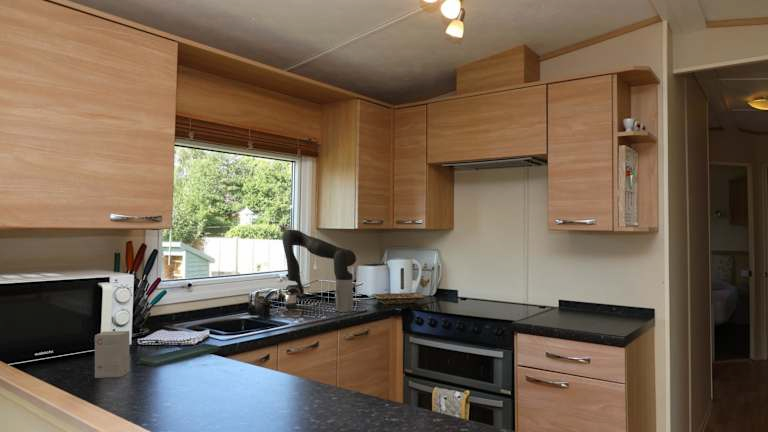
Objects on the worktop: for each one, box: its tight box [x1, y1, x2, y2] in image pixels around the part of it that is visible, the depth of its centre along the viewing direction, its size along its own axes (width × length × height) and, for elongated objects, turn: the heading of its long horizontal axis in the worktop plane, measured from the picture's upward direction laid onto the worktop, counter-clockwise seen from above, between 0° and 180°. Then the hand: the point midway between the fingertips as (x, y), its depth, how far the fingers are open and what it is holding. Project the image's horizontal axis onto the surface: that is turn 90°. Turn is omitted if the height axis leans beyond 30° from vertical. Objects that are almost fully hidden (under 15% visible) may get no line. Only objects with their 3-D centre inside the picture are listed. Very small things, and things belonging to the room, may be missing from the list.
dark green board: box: [140, 342, 221, 368], centre depth 183 cm, size 26×9×2 cm, turn 147°
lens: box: [285, 294, 297, 312], centre depth 270 cm, size 6×6×10 cm
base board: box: [280, 311, 302, 319], centre depth 270 cm, size 10×10×1 cm
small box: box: [94, 330, 131, 379], centre depth 161 cm, size 8×6×13 cm
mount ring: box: [281, 309, 301, 316], centre depth 270 cm, size 9×9×2 cm
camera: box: [248, 295, 271, 320], centre depth 267 cm, size 18×9×10 cm, turn 27°
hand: (291, 298), depth 273 cm, fingers open, 8 cm apart
